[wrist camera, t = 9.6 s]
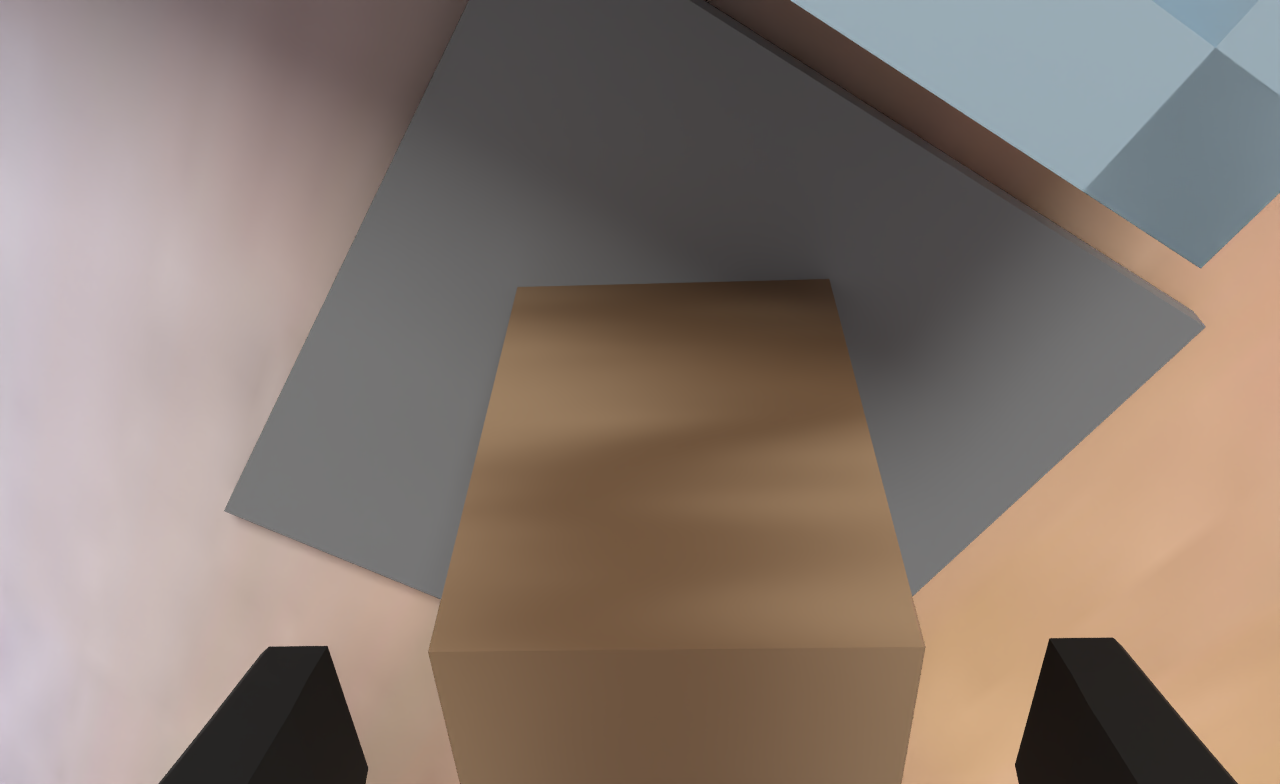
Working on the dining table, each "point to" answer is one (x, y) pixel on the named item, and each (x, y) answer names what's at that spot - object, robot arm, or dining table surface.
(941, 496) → the mat
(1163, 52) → the bay
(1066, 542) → the dining table surface
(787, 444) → the walnut block
